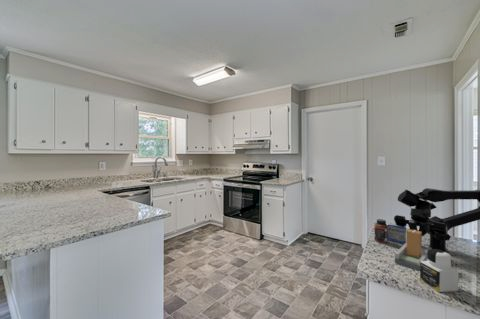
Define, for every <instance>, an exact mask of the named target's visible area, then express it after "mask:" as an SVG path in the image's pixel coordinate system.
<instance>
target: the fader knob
mask: <svg viewBox="0 0 480 319" xmlns="http://www.w3.org/2000/svg"><path fill="white" fill-rule="evenodd" d="M422 238H423V236H422V232H420V231H419V230H418V231H417V230H411V229H410V228H409V229H407V230H406V242H407V253H406V254H408V255H412V256H415V257H420V256H421V251H422V250H423V249H422V247H423V246H422V244H423V243H422V242H423V241H422Z"/></svg>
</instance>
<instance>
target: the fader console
mask: <svg viewBox="0 0 480 319" xmlns="http://www.w3.org/2000/svg"><path fill="white" fill-rule="evenodd" d="M429 249H432V248H431V247H428V246H427V248H426V250H425V249H422V251H421V256H420V257H415V256H412V255H408V254H406V253H407V241H406V243H405V244H404V243H403V245H402V246H401V247H400V248H399V249H398V250H397V251H396V252H395V253H394V264H397V265H401V266H404V267H406V268H407V267H408V268H410V269H414V270H416V271H420V261H427V251H428V250H429Z"/></svg>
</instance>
